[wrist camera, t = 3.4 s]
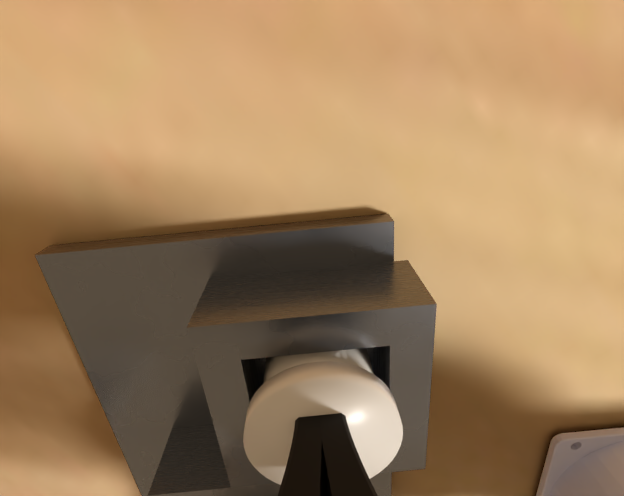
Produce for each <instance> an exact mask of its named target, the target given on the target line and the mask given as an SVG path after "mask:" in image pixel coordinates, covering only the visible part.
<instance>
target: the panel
mask: <svg viewBox="0 0 624 496" xmlns="http://www.w3.org/2000/svg"><path fill="white" fill-rule="evenodd" d="M35 257H36V259H37V261H38V263H39V266H40V268H41V270H42V272H43V275H44V277H45V279H46V281H47V284H48V286H49V288H50V290H51V293H52V295H53V297H54V299H55V302H56V304H57V306H58V308H59V311H60V313H61V315H62V317H63V320H64V322H65V324H66V326H67V329H68V331H69V333H70V335H71V338H72V340H73V342H74V344H75V347H76V349H77V351H78V353H79V356H80V358H81V360H82V362H83V365H84V367H85V369H86V371H87V374H88V376H89V378H90V380H91V383H92V385H93V387H94V389H95V392H96V394H97V396H98V398H99V401H100V403H101V405H102V407H103V410H104V412H105V414H106V416H107V419H108V421H109V423H110V425H111V427H112V430H113V432H114V434H115V436H116V439H117V441H118V443H119V445H120V448H121V450H122V452H123V454H124V457H125V459H126V461H127V463H128V466H129V468H130V470H131V472H132V475H133V477H134V479H135V481H136V484H137V486H138V488H139V490H140V493H141V495H142V496H278V493H279V489H280V486H281V485H280V484H277V483H275V482H273V481H271V480H269V479H268V478H266V477H265V476H263V475H262V474H261V473H260V472H259V471H257V470H256V469H255V468H254V466H253V465H252V464H251V462H250V461H249V459H248V457H247V455H246V452H245V449H244V444H243V434H244V427H245V421H246V414H247V410H248V406H249V403H250V401H251V399H252V397H253V396H254V394H255V392H256V391H257V390H258V389H259V388H260V387H261V385H263V383H264V374H265V365H266V357H276V356H287V355H297V354H308V353H318V352H328V351H339V350H349V349H360V348H367V351H368V355H369V358H370V362H371V366H372V369H373V373H374V375H375V376H377V377H378V378H379V379H381V380H382V381H383V382H384V383H385V384H386V385H387V387H388V388H389V390H390V391H391V393H392V395H393V397H394V399H395V402H396V406H397V409H398V412H399V415H400V418H401V422H402V426H403V437H402V442H401V446H400V448H399V450H398V452H397V454H396V456H395V457H394V459H393V460H392V461H391V462H390V464H389V465H388V466H387V467H386V468H384V469H383V470H382V471H381V472H380V473H378V474H377V475H375V476H374V477H372V478H370V481H371V483H372V485H373V487H374V489H375V491H376V493H377V495H378V496H391V477H392V472H398V471H408V470H418V469H425V466H426V451H427V436H428V422H429V407H430V392H431V378H432V363H433V348H434V334H435V319H436V302H435V301H434V299H433V298H432V296H431V295H430V293H429V292H428V290H427V289H426V287H425V286H424V284H423V283H422V281H421V280H420V278H419V277H418V275H417V274H416V272H415V270H414V269H413V267H412V266H411V264H410V263H409V261H408V260H405V261H394V221H393V219H392V218H391V217H390V215H389V214H380V215H370V216H359V217H348V218H338V219H327V220H317V221H306V222H295V223H285V224H274V225H264V226H253V227H242V228H232V229H221V230H211V231H200V232H189V233H179V234H168V235H158V236H147V237H136V238H126V239H115V240H105V241H94V242H83V243H73V244H62V245H51V246H49V247H47V248H45V249H44V250H42V251H41V252H39V253H38V254H36V255H35Z"/></svg>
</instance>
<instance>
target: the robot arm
mask: <svg viewBox="0 0 624 496" xmlns="http://www.w3.org/2000/svg"><path fill="white" fill-rule="evenodd" d="M278 496H378V495H377V493H376V491H375V489H374V487H373V485H372V483H371V481H370V479H369V477H368V475H367V472H366V470H365V468H364V466H363V464H362V461H361V459H360V457H359V454H358V452H357V449H356V447H355V444H354V442H353V439H352V436H351V433H350V430H349V427H348V424H347V420H346V416H345V415H344V414H342V413H337V414H327V415H317V416H306V417H298V418H297V419H296V420H295V427H294V433H293V439H292V444H291V449H290V453H289V457H288V461H287V465H286V469H285V472H284V476H283V479H282V483H281V486H280V489H279V493H278ZM536 496H624V427H621V428H611V429H600V430H590V431H580V432H569V433H561V434H557V435H555V436H554V437H553V438H552V440H551V443H550V446H549V450H548V454H547V457H546V461H545V465H544V468H543V472H542V476H541V479H540V483H539V487H538V490H537V494H536Z"/></svg>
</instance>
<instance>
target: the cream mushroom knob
mask: <svg viewBox="0 0 624 496" xmlns="http://www.w3.org/2000/svg"><path fill="white" fill-rule="evenodd" d="M337 413H342V414H344V415H345V416H346V420H347V424H348V427H349V430H350V433H351V436H352V439H353V442H354V444H355V447H356V449H357V452H358V454H359V457H360V459H361V461H362V464H363V466H364V468H365V470H366V472H367V475H368V477H369V479H370V478H372V477H374V476H375V475H377V474H378V473H380V472H381V471H382V470H383V469H384V468H386V467H387V466H388V465H389V464H390V462H391V461H392V460H393V459H394V457H395V456H396V454H397V452H398V450H399V448H400V446H401V442H402V437H403V426H402V422H401V418H400V415H399V412H398V409H397V406H396V402H395V399H394V397H393V395H392V393H391V391H390V390H389V388H388V387H387V385H386V384H385V383H384V382H383V381H382V380H381V379H379V378H378V377H377V376H375V375H374V373H373V369H372V366H371V362H370V358H369V355H368V351H367V348H360V349H349V350H339V351H328V352H318V353H308V354H297V355H287V356H276V357H266V365H265V374H264V383H263V385H261V387H260V388H259V389H258V390H257V391H256V392H255V394H254V396H253V397H252V399H251V401H250V403H249V406H248V410H247V414H246V421H245V427H244V434H243V444H244V449H245V452H246V455H247V457H248V459H249V461H250V462H251V464H252V465H253V466H254V468H255V469H256V470H257V471H259V472H260V473H261V474H262V475H263V476H265V477H266V478H268V479H269V480H271V481H273V482H275V483H277V484H280V485H281V483H282V479H283V476H284V472H285V469H286V465H287V461H288V457H289V453H290V449H291V444H292V439H293V433H294V427H295V420H296V419H297V418H298V417H306V416H317V415H327V414H337Z"/></svg>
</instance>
